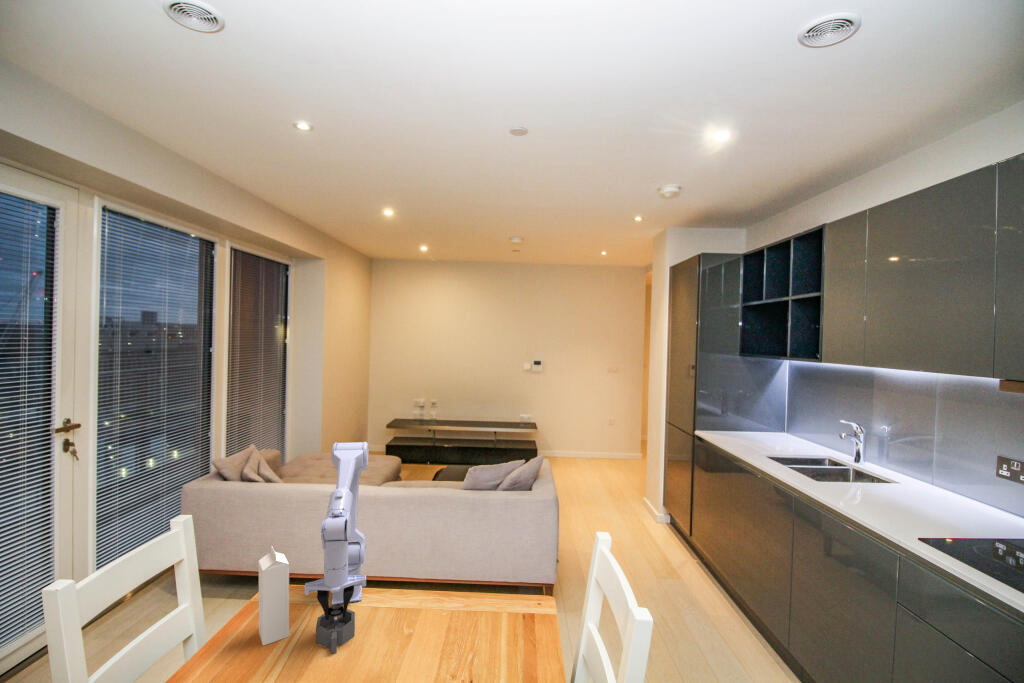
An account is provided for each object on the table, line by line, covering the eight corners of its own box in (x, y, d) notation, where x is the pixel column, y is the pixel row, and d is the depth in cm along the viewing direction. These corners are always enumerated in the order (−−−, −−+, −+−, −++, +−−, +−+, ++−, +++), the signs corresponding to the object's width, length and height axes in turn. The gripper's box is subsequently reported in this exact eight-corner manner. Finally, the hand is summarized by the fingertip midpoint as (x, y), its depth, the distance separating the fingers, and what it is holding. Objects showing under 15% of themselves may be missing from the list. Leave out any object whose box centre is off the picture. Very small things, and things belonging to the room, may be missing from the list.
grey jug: (318, 626, 122) (318, 611, 122) (355, 620, 125) (355, 606, 124) (313, 657, 111) (313, 640, 111) (353, 650, 114) (353, 634, 113)
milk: (262, 646, 114) (261, 558, 113) (258, 632, 119) (257, 548, 118) (289, 636, 118) (289, 551, 117) (284, 623, 123) (283, 541, 122)
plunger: (324, 626, 121) (324, 602, 121) (348, 623, 123) (349, 599, 122) (322, 642, 115) (322, 616, 115) (347, 638, 117) (347, 612, 117)
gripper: (302, 576, 112) (302, 631, 113) (366, 568, 116) (365, 621, 117) (306, 561, 119) (306, 613, 120) (366, 554, 123) (365, 604, 124)
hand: (335, 616), depth 119 cm, fingers closed on plunger, 3 cm apart
